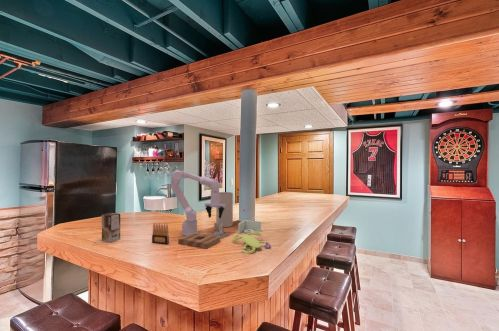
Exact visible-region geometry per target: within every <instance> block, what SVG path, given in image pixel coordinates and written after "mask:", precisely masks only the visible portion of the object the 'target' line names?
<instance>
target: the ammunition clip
mask: <svg viewBox="0 0 499 331" xmlns="http://www.w3.org/2000/svg"><path fill="white" fill-rule="evenodd" d="M151 244H156V245H157V244H158V245H167V246H168V245H169V244H170V234H169V225H168V223H166V224H165V223H164V224H163V223H157V222H156V223H155V222H153V224H152V235H151Z"/></svg>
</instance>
